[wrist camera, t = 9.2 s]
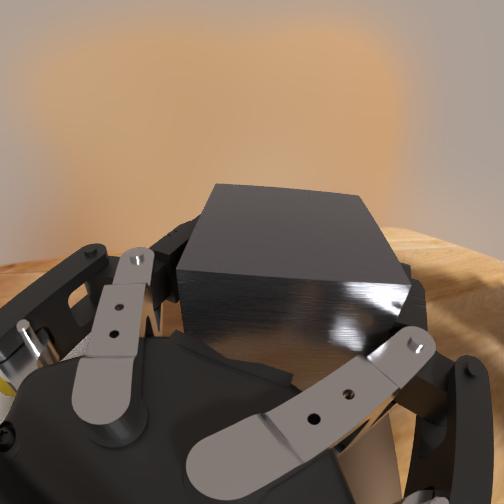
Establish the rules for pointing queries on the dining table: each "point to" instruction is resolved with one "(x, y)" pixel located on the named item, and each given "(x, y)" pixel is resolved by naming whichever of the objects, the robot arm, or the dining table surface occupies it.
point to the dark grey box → (289, 279)
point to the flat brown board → (373, 466)
